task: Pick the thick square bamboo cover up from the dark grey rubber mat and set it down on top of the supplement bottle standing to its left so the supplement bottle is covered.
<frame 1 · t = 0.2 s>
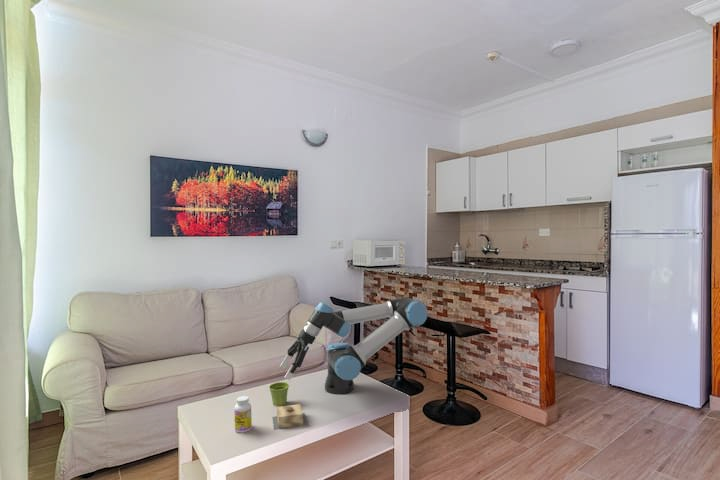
hand: (284, 373, 183), 16 cm above the table, tool tilted 35°, fingers open, 13 cm apart
lid: (289, 420, 168), resting on mat
supplement bottle: (243, 429, 162), on the table
plant pot: (279, 404, 186), on the table
mat: (289, 421, 168), on the table
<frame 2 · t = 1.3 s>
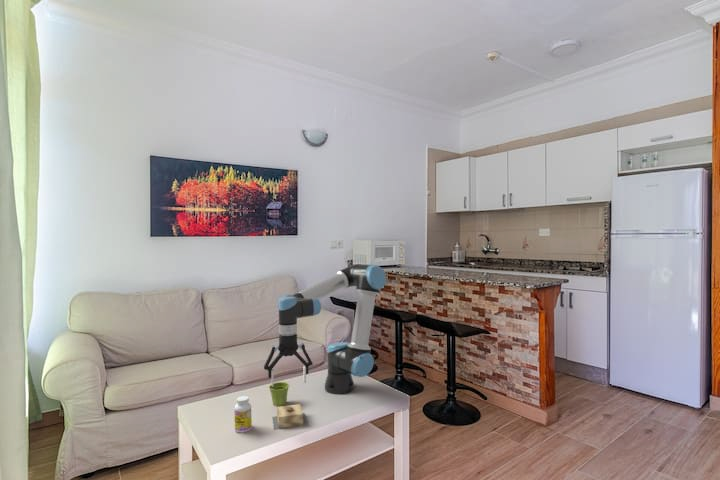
hand: (288, 383, 168), 16 cm above the table, tool pointing down, fingers open, 13 cm apart
nothing on the table moved.
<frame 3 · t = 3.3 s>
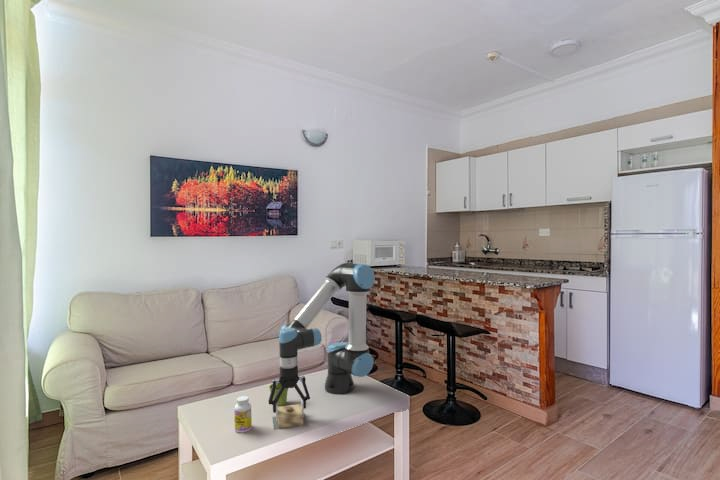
hand: (289, 417, 168), 2 cm above the table, tool pointing down, fingers closed on lid, 10 cm apart
lid: (289, 420, 168), resting on mat, touching gripper
everything else where it was.
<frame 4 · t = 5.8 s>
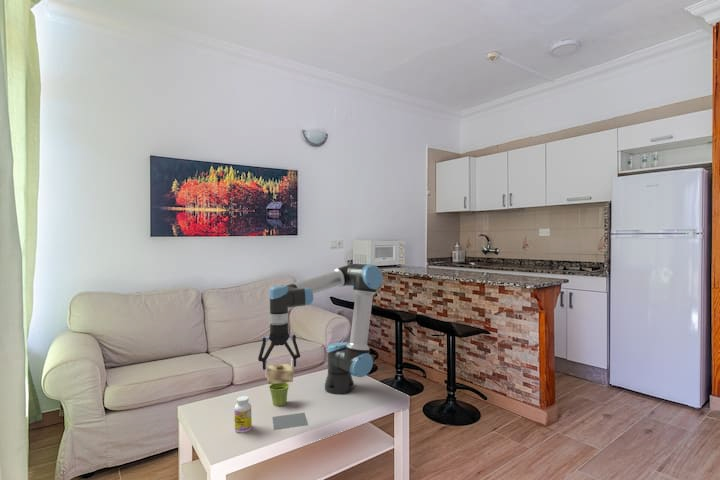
hand: (279, 375, 167), 20 cm above the table, tool pointing down, fingers closed on lid, 10 cm apart
lid: (279, 378, 167), point 19 cm above the table, touching gripper
everything else where it was.
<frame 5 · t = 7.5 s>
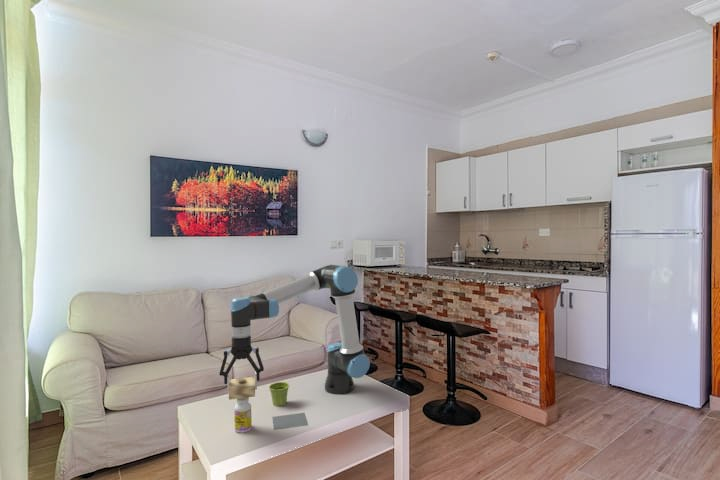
hand: (242, 390, 162), 16 cm above the table, tool pointing down, fingers closed on lid, 10 cm apart
lid: (242, 393, 162), point 15 cm above the table, touching gripper
everything else where it was.
when the fingers open (16 cm above the table, at t = 8.5 s): lid drops 2 cm, resting on supplement bottle.
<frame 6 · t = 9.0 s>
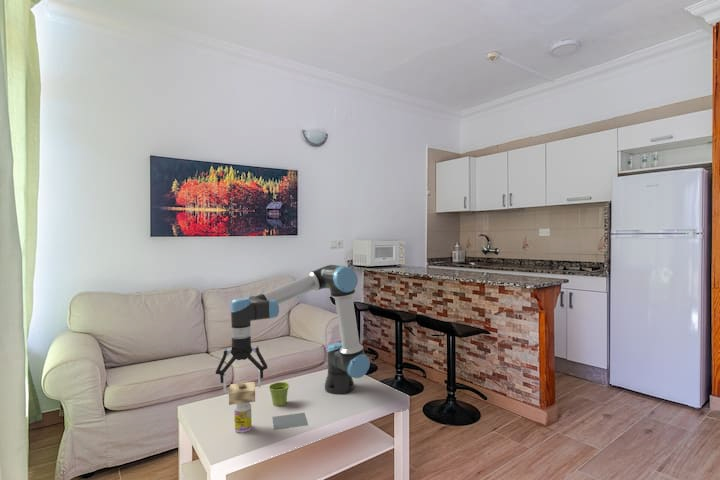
hand: (242, 388, 162), 17 cm above the table, tool pointing down, fingers open, 13 cm apart
lid: (242, 398, 162), point 13 cm above the table, touching supplement bottle
supplement bottle: (243, 429, 162), on the table, touching lid
everything else where it was.
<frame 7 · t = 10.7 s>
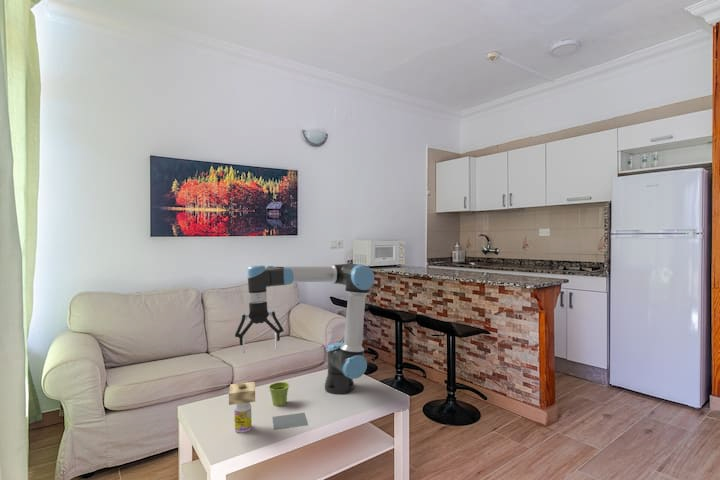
hand: (260, 350, 171), 30 cm above the table, tool pointing down, fingers open, 13 cm apart
nothing on the table moved.
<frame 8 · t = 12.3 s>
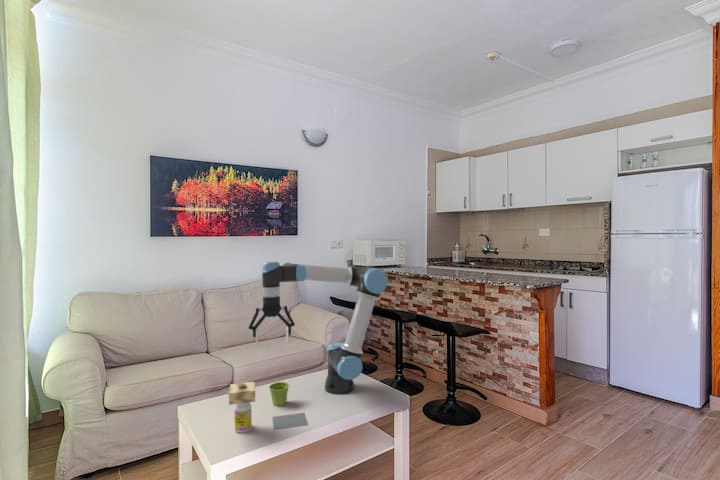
hand: (272, 342, 179), 31 cm above the table, tool pointing down, fingers open, 13 cm apart
nothing on the table moved.
at the end: lid point 12.8 cm above the table; lid 0.0 cm from the supplement bottle (horizontally); supplement bottle tilted 0° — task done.
